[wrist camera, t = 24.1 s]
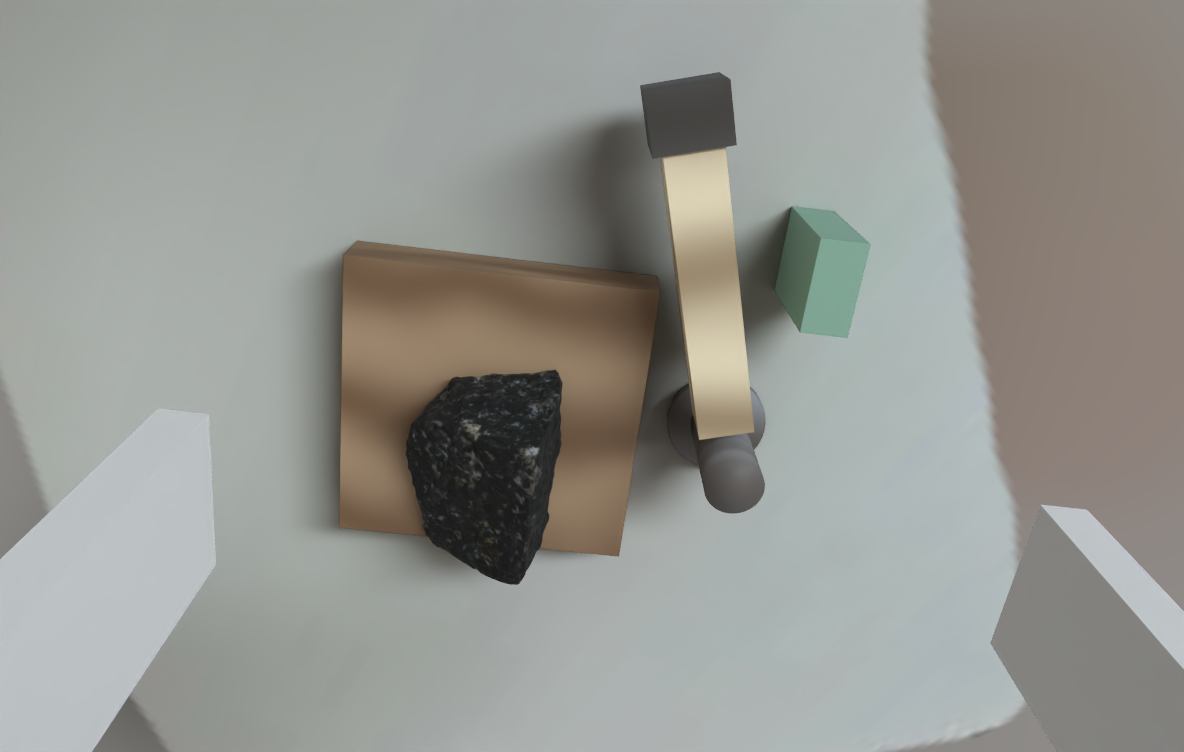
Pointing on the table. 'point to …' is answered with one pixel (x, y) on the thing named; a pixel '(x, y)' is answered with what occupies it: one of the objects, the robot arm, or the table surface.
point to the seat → (513, 346)
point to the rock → (488, 468)
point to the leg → (703, 243)
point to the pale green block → (821, 271)
